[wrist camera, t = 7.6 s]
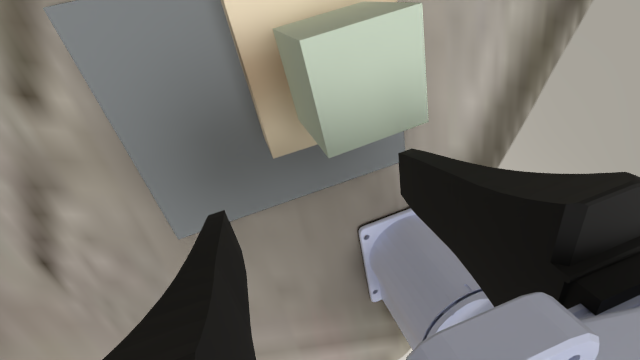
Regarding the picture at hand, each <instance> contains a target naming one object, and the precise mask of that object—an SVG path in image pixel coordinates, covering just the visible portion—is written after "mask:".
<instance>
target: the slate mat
mask: <svg viewBox="0 0 640 360" xmlns="http://www.w3.org/2000/svg"><path fill="white" fill-rule="evenodd" d="M43 9H44V11H45V12H46V14H47V16H48V17H49V19H50V21H51V23H52V24H53V26H54V28H55V29H56V31H57V33H58V35H59V36H60V38H61V40H62V41H63V43H64V45H65V47H66V48H67V50H68V52H69V53H70V55H71V57H72V58H73V60H74V62H75V64H76V65H77V67H78V69H79V70H80V72H81V74H82V76H83V77H84V79H85V81H86V82H87V84H88V86H89V88H90V89H91V91H92V93H93V94H94V96H95V98H96V100H97V101H98V103H99V105H100V106H101V108H102V110H103V112H104V113H105V115H106V117H107V118H108V120H109V122H110V123H111V125H112V127H113V129H114V130H115V132H116V134H117V135H118V137H119V139H120V141H121V142H122V144H123V146H124V147H125V149H126V151H127V153H128V154H129V156H130V158H131V159H132V161H133V163H134V165H135V166H136V168H137V170H138V171H139V173H140V175H141V177H142V178H143V180H144V182H145V183H146V185H147V187H148V188H149V190H150V192H151V194H152V195H153V197H154V199H155V200H156V202H157V204H158V206H159V207H160V209H161V211H162V212H163V214H164V216H165V218H166V219H167V221H168V223H169V224H170V226H171V228H172V230H173V231H174V233H175V235H176V236H177V238H178V239H181V238H184V237H187V236H190V235H193V234H196V233H198V232H200V231H201V229H202V227H203V225H204V222H205V220H206V218H207V217H208V215H210V214H214V213H217V212H220V211H223V210H225V213H226V215H227V217H228V220H229V222H230V221H233V220H236V219H239V218H241V217H244V216H247V215H250V214H253V213H256V212H259V211H262V210H264V209H267V208H270V207H273V206H276V205H279V204H282V203H285V202H287V201H290V200H293V199H296V198H299V197H302V196H305V195H308V194H310V193H313V192H316V191H319V190H322V189H325V188H328V187H331V186H333V185H336V184H339V183H342V182H345V181H348V180H351V179H353V178H356V177H359V176H362V175H365V174H368V173H371V172H374V171H376V170H379V169H382V168H385V167H388V166H391V165H394V164H397V163H399V156H398V153H401V152H404V151H405V142H404V131H402V132H400V133H397V134H394V135H391V136H389V137H386V138H383V139H380V140H378V141H375V142H372V143H370V144H367V145H364V146H361V147H359V148H356V149H353V150H351V151H348V152H345V153H342V154H340V155H337V156H334V157H331V158H328V157H327V155H326V154H325V153H324V152H323V150H322V149H321V148H320V146H319V145H318V144H317V145H314V146H311V147H308V148H305V149H302V150H299V151H296V152H293V153H290V154H286V155H283V156H280V157H277V158H274V159H273V157H272V154H271V152H270V150H269V147H268V145H267V143H266V141H265V138H264V135H263V132H262V129H261V125H260V122H259V119H258V116H257V113H256V110H255V107H254V104H253V100H252V97H251V94H250V91H249V88H248V85H247V82H246V79H245V75H244V72H243V69H242V66H241V63H240V60H239V57H238V54H237V50H236V47H235V44H234V41H233V38H232V35H231V32H230V28H229V25H228V22H227V19H226V16H225V13H224V10H223V7H222V3H221V0H76V1H72V2H67V3H63V4H58V5H54V6H49V7H45V8H43Z"/></svg>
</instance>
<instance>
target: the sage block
mask: <svg viewBox="0 0 640 360" xmlns="http://www.w3.org/2000/svg"><path fill="white" fill-rule="evenodd" d="M273 32H274V36H275V39H276V43H277V46H278V50H279V53H280V57H281V60H282V64H283V67H284V71H285V74H286V78H287V81H288V85H289V88H290V92H291V95H292V99H293V102H294V106H295V109H296V113H297V116H298V120H299V121H300V122H301V123H302V125H303V126H304V127H305V129H306V130H307V131H308V132H309V134H310V135H311V136H312V137H313V139H314V140H315V141H316V143H317V144H318V145H319V146H320V148H321V149H322V150H323V152H324V153H325V154H326V155H327V157H328V158H331V157H334V156H337V155H340V154H342V153H345V152H348V151H351V150H353V149H356V148H359V147H361V146H364V145H367V144H370V143H372V142H375V141H378V140H380V139H383V138H386V137H389V136H391V135H394V134H397V133H400V132H402V131H405V130H408V129H410V128H413V127H416V126H419V125H421V124H424V123H427V122H428V104H427V85H426V66H425V47H424V29H423V10H422V3H411V2H360V3H356V4H353V5H350V6H346V7H343V8H340V9H336V10H333V11H330V12H326V13H323V14H320V15H316V16H313V17H310V18H306V19H303V20H300V21H296V22H293V23H290V24H286V25H283V26H280V27H276V28H273Z"/></svg>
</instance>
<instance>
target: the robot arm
mask: <svg viewBox="0 0 640 360" xmlns="http://www.w3.org/2000/svg"><path fill="white" fill-rule="evenodd" d="M398 156H399V172H400V188H401V195H402V196H403V198H404V199H405V201H406V202H407V204H408V205H409V206H410V209H407V210H405V211H402V212H399V213H397V214H394V215H391V216H389V217H386V218H383V219H381V220H378V221H375V222H373V223H370V224H367V225H365V226H362V227H361V228H360V229H359V238H360V243H361V249H362V255H363V260H364V266H365V271H366V277H367V283H368V288H369V294H370V298H371V300H372V301H373V302H377V301H380V300H382V299H383V301H384V303H385V305H386V306H387V308H388V310H389V311H390V313H391V315H392V316H393V318H394V320H395V321H396V323H397V325H398V326H399V328H400V330H401V331H402V333H403V335H404V337H405V338H406V340H407V342H408V343H409V345H410V347H411V348H412V350H413V351H412V352H411V353H410V354H409V356H407V359H406V360H640V177H638V176H636V175H633V174H630V173H627V172H617V173H596V174H549V173H533V172H522V171H512V170H505V169H498V168H492V167H486V166H482V165H477V164H472V163H468V162H463V161H459V160H455V159H451V158H448V157H444V156H440V155H436V154H433V153H429V152H425V151H421V150H416V149H410V150H407V151H404V152H401V153H398ZM366 235H367V236H366ZM364 236H366V237H364ZM103 360H256V357H255V351H254V346H253V341H252V335H251V326H250V314H249V301H248V288H247V276H246V269H245V264H244V259H243V255H242V250H241V248H240V245H239V243H238V241H237V238H236V236H235V234H234V231H233V229H232V227H231V224H230V222H229V220H228V217H227V215H226V213H225V210H223V211H220V212H217V213H214V214H210V215H208V217H207V218H206V220H205V222H204V225H203V227H202V229H201V231H200V233H199V236H198V238H197V240H196V242H195V244H194V246H193V248H192V250H191V252H190V253H189V255H188V257H187V259H186V261H185V262H184V264H183V266H182V267H181V269H180V271H179V273H178V274H177V276H176V277H175V279H174V280H173V282H172V283H171V285H170V286H169V287H168V289H167V290H166V291H165V293H164V294H163V296H162V297H161V298H160V299H159V301H158V302H157V303H156V304H155V305H154V306H153V308H152V309H151V310H150V311H149V312H148V314H147V315H146V316H145V317H144V318H143V320H142V321H141V322H140V323H139V324H138V325H137V326H136V327H135V328H134V329H133V330H132V331H131V332H130V334H129V335H128V336H127V337H126V338H125V339H124V340H123V341H122V342H121V343H120V344H119V345H118V346H117V347H116V348H114V349H113V350H112V351H111V352H110V353H109V354H108V355H107V356H106V357H105V358H104V359H103Z"/></svg>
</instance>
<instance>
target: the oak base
mask: <svg viewBox="0 0 640 360" xmlns="http://www.w3.org/2000/svg"><path fill="white" fill-rule="evenodd" d="M360 2H397V0H221V3H222V7H223V10H224V13H225V16H226V19H227V22H228V25H229V28H230V32H231V35H232V38H233V41H234V44H235V47H236V50H237V54H238V57H239V60H240V63H241V66H242V69H243V72H244V75H245V79H246V82H247V85H248V88H249V91H250V94H251V97H252V100H253V104H254V107H255V110H256V113H257V116H258V119H259V122H260V125H261V129H262V132H263V135H264V138H265V141H266V143H267V145H268V147H269V150H270V152H271V154H272V157H273V159H274V158H277V157H280V156H283V155H286V154H290V153H293V152H296V151H299V150H302V149H305V148H308V147H311V146H314V145H317V143H316V141H315V140H314V139H313V137H312V136H311V135H310V134H309V132H308V131H307V130H306V129H305V127H304V126H303V125H302V123H301V122H300V121H299V120H298V116H297V113H296V109H295V106H294V102H293V99H292V95H291V92H290V88H289V85H288V81H287V78H286V74H285V71H284V67H283V64H282V60H281V57H280V53H279V50H278V46H277V43H276V39H275V36H274V32H273V28H276V27H280V26H283V25H286V24H290V23H293V22H296V21H300V20H303V19H306V18H310V17H313V16H316V15H320V14H323V13H326V12H330V11H333V10H336V9H340V8H343V7H346V6H350V5H353V4H356V3H360Z"/></svg>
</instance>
